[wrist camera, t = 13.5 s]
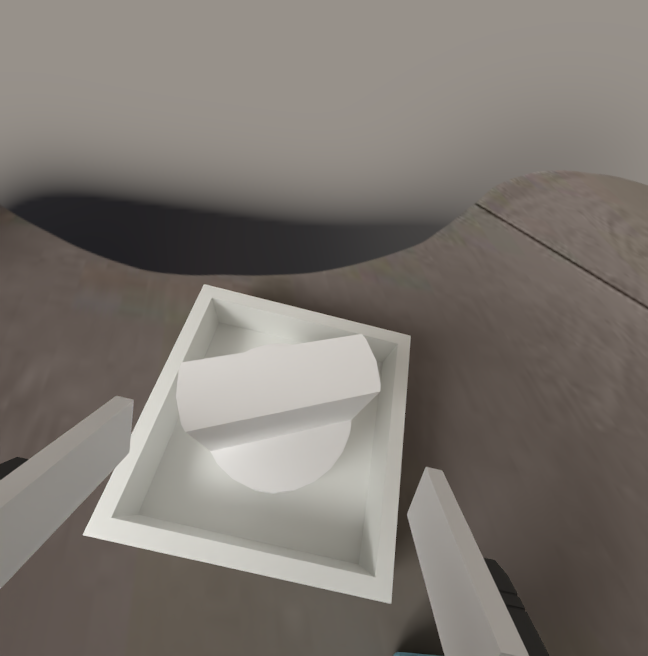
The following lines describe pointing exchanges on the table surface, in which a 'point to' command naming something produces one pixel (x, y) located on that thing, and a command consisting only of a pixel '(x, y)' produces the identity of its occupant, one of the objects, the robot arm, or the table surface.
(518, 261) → the table surface
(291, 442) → the base with upright slab
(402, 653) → the data package
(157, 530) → the bin
